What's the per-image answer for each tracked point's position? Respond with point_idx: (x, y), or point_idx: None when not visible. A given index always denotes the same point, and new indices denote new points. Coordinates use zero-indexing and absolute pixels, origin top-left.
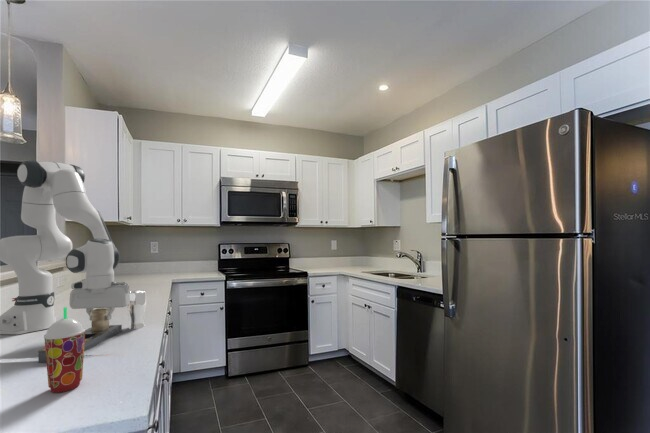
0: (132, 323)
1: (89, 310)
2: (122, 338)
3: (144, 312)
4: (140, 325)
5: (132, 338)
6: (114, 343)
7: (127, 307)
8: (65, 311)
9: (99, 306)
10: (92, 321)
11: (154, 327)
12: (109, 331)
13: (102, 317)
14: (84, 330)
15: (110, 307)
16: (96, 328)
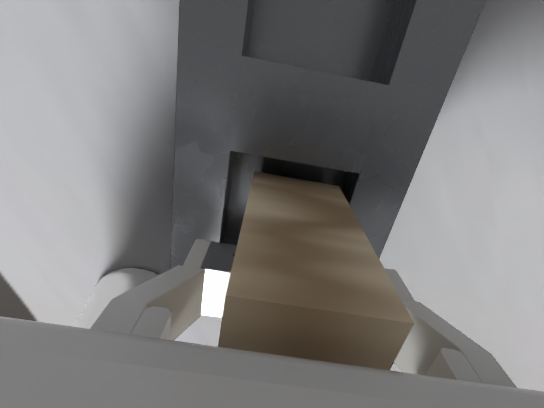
0: None
1: (451, 359)
2: (129, 141)
3: None
4: (88, 299)
5: (51, 117)
6: (120, 19)
7: None
8: None
9: (286, 378)
10: (353, 229)
11: (54, 309)
12: (176, 123)
13: (243, 233)
14: None
15: (64, 325)
16: (305, 193)
